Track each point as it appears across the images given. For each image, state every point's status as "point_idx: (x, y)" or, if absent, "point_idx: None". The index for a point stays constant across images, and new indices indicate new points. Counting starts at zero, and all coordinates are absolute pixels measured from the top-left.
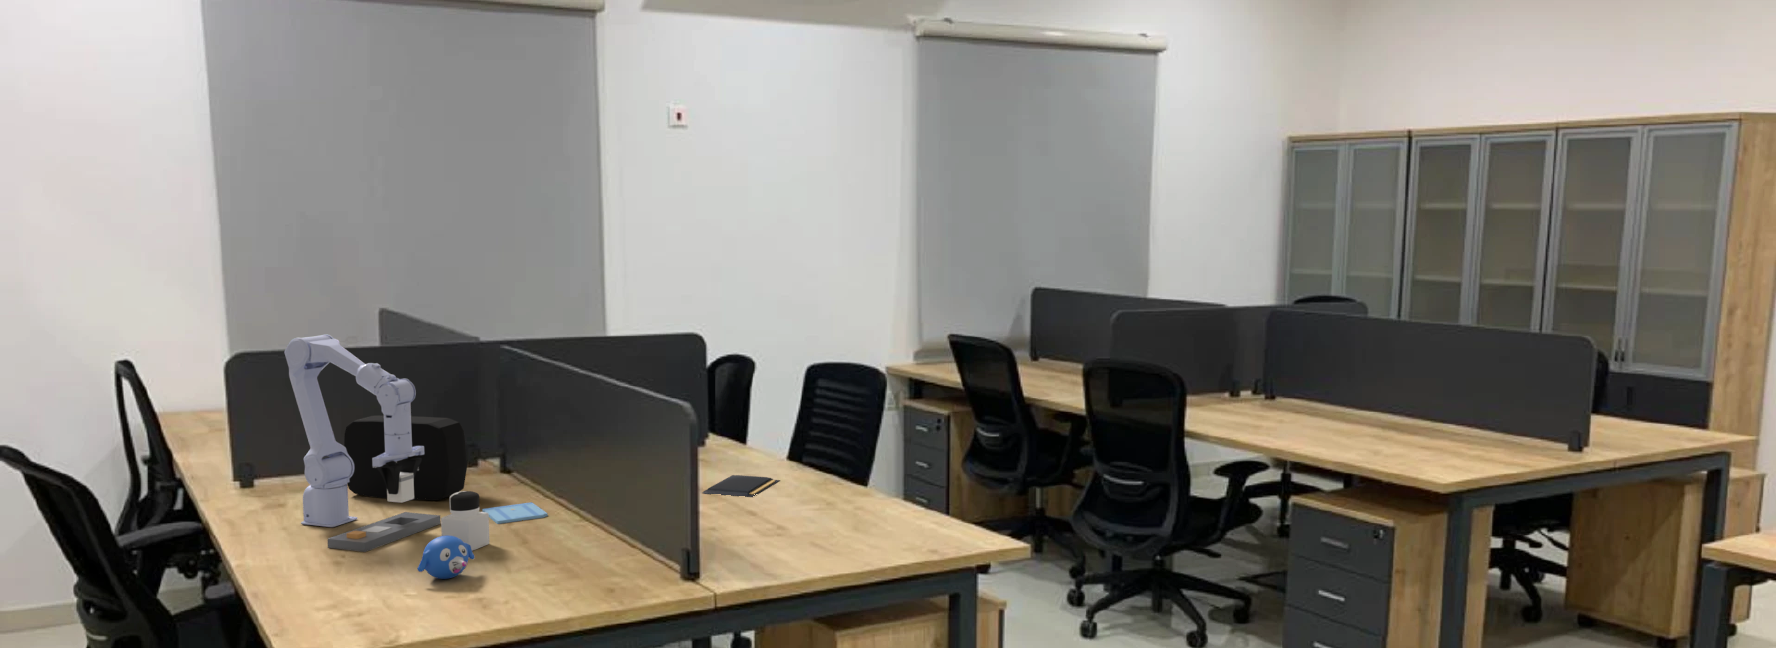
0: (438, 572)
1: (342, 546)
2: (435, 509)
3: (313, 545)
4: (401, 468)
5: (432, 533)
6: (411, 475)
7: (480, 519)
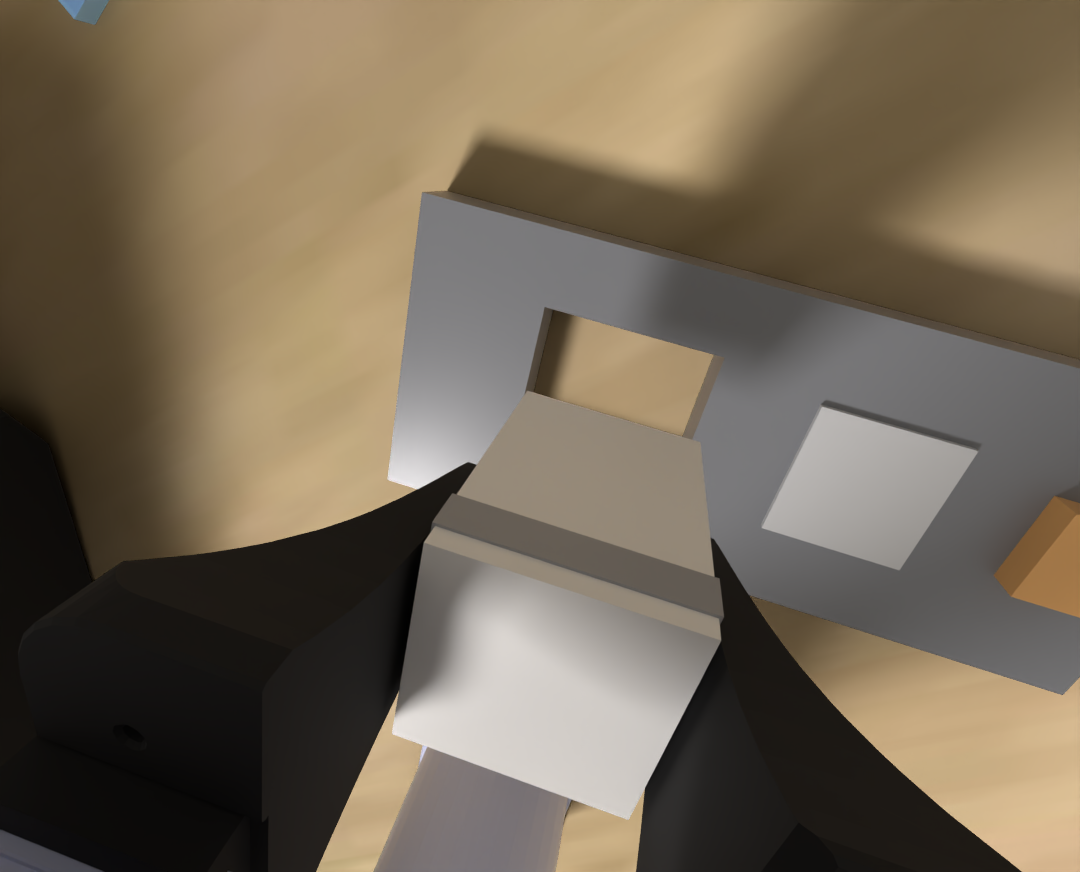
0: None
1: None
2: (168, 386)
3: (944, 722)
4: (361, 751)
5: (708, 117)
6: (478, 537)
7: None
